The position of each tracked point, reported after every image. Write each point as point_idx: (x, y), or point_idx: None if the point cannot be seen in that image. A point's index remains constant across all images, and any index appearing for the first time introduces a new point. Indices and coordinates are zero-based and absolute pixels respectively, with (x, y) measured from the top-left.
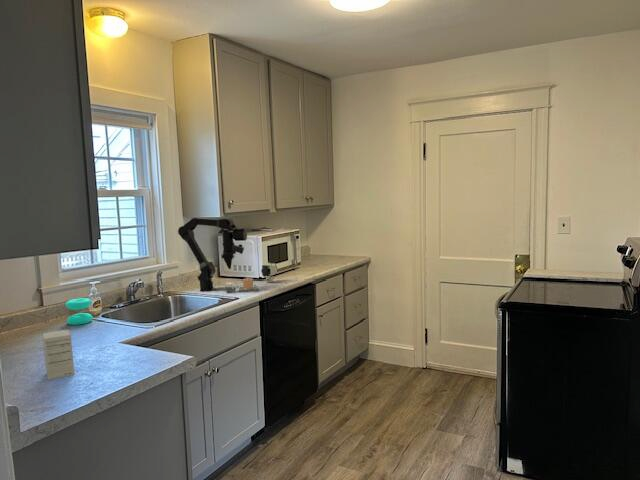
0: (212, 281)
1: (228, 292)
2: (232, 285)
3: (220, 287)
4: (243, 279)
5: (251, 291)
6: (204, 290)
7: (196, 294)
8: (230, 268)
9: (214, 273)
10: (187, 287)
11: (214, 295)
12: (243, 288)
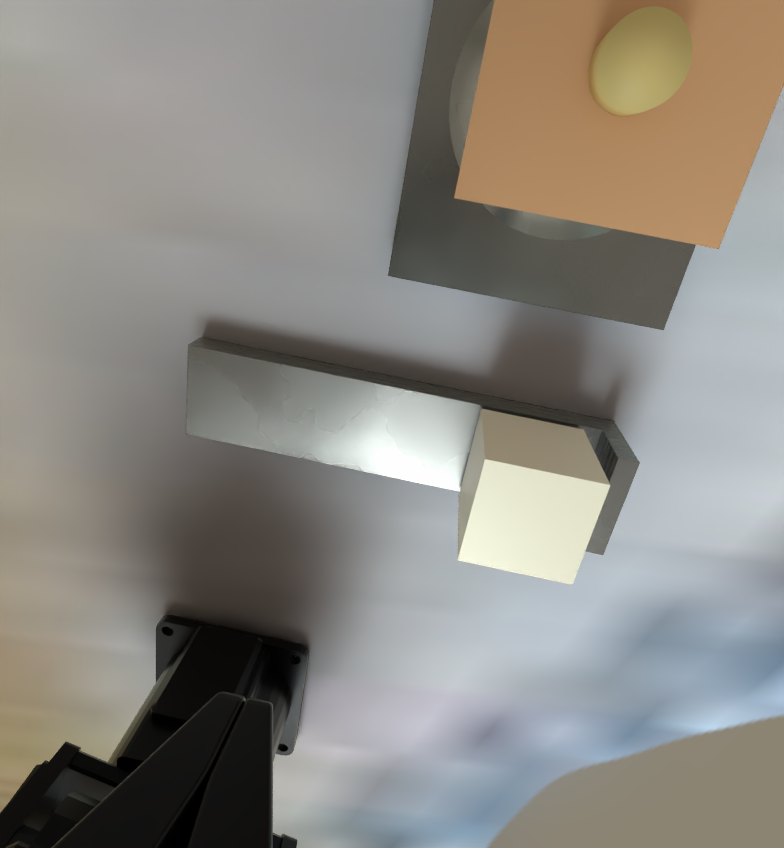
0: (185, 715)
1: None
2: (577, 460)
3: (101, 519)
4: (577, 219)
5: None
6: (299, 715)
7: (448, 788)
8: (271, 714)
9: (77, 814)
10: (11, 797)
11: (641, 653)
12: (546, 219)
